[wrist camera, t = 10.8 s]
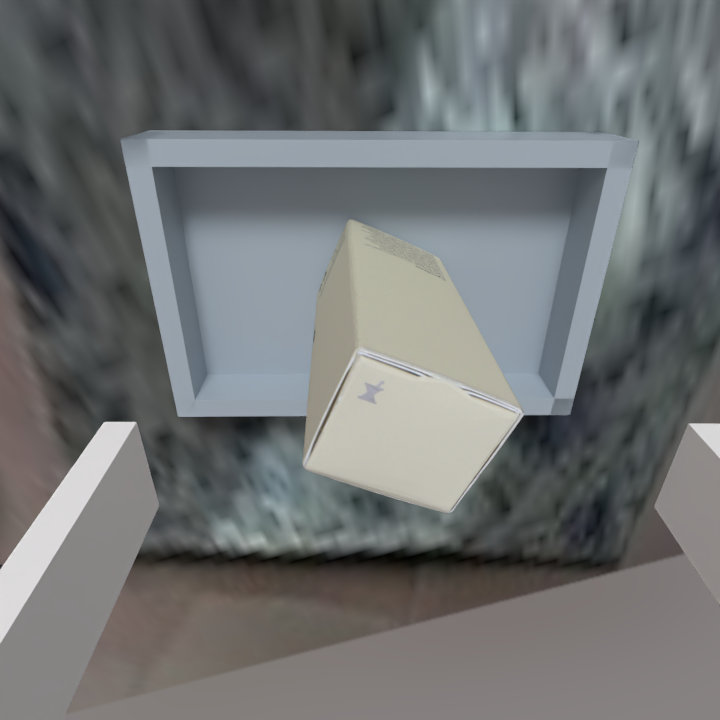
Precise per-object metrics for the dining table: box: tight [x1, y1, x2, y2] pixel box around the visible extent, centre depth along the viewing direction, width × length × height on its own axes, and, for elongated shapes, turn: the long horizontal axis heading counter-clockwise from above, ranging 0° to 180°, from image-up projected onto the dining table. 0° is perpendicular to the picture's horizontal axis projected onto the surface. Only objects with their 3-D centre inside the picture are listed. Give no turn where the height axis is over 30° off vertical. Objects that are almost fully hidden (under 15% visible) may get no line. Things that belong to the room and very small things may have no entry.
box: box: [303, 219, 524, 513], centre depth 19 cm, size 5×4×13 cm
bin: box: [120, 130, 639, 417], centre depth 24 cm, size 13×20×3 cm, turn 90°
